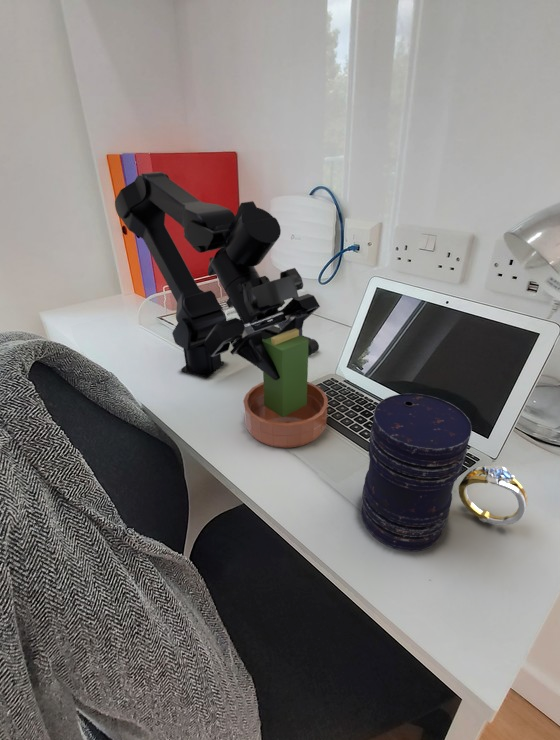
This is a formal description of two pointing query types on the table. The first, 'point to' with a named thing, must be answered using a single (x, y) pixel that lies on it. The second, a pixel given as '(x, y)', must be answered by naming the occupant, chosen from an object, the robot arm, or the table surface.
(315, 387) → the bowl
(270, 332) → the tablet stand
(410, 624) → the table surface
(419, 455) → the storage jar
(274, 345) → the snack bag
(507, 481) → the ring
